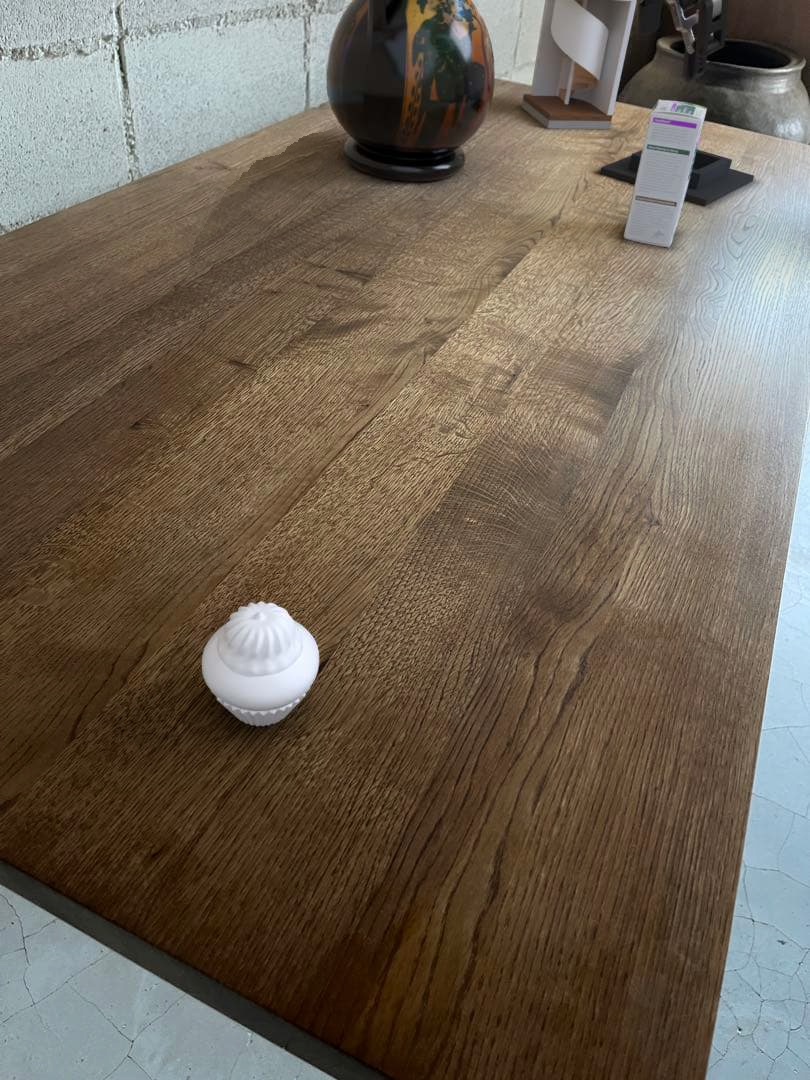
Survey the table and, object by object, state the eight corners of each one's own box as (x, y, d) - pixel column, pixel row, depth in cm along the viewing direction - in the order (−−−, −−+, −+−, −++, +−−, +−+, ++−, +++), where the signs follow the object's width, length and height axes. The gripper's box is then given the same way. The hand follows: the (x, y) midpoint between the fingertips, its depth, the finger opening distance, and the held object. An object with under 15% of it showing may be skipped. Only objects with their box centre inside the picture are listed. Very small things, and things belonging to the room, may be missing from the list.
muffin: (238, 767, 47) (233, 675, 43) (185, 690, 51) (175, 597, 46) (339, 717, 50) (345, 626, 46) (283, 647, 54) (282, 557, 49)
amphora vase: (432, 205, 113) (459, -66, 95) (290, 163, 120) (292, -95, 103) (510, 165, 127) (546, -76, 110) (379, 130, 135) (394, -101, 117)
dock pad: (752, 181, 131) (759, 160, 129) (705, 206, 121) (711, 184, 119) (652, 151, 138) (657, 132, 136) (599, 173, 128) (604, 152, 126)
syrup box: (670, 248, 108) (706, 118, 99) (620, 238, 109) (651, 108, 100) (675, 232, 112) (710, 105, 103) (627, 223, 113) (657, 96, 104)
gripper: (765, -80, 81) (740, 75, 95) (675, -155, 87) (664, 2, 102) (690, -41, 81) (676, 109, 95) (605, -119, 87) (604, 33, 101)
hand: (670, 53), depth 98 cm, fingers open, 8 cm apart
